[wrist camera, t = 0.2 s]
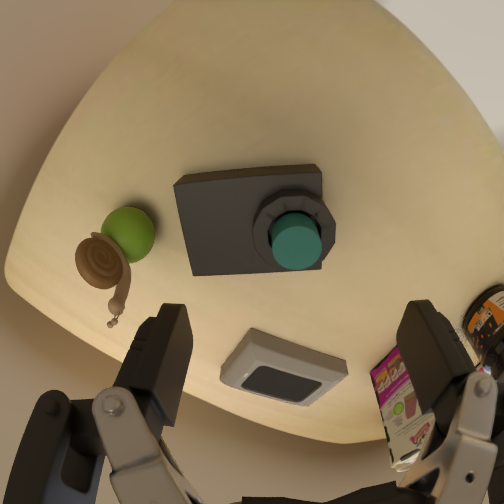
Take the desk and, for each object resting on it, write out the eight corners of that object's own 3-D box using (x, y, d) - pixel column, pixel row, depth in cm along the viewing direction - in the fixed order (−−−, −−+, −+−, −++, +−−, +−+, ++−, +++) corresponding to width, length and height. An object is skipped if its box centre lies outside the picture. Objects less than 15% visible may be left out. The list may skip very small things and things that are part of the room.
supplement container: (496, 272, 28) (541, 326, 18) (514, 297, 30) (549, 345, 20) (450, 324, 33) (483, 385, 22) (474, 341, 35) (502, 393, 24)
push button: (316, 211, 21) (322, 224, 19) (316, 252, 23) (321, 268, 21) (270, 213, 21) (270, 227, 19) (273, 254, 23) (273, 271, 21)
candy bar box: (390, 376, 39) (413, 463, 24) (368, 372, 38) (389, 466, 24) (436, 330, 33) (478, 421, 19) (416, 323, 33) (459, 424, 18)
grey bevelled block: (309, 412, 38) (218, 387, 35) (307, 393, 41) (221, 367, 38) (349, 381, 33) (249, 350, 30) (345, 360, 36) (251, 327, 34)
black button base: (323, 163, 24) (336, 177, 19) (323, 251, 28) (333, 280, 24) (183, 175, 25) (165, 191, 21) (199, 259, 29) (188, 287, 25)
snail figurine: (145, 261, 30) (97, 338, 19) (107, 219, 27) (41, 283, 17) (179, 235, 28) (133, 315, 18) (137, 188, 26) (67, 246, 15)
